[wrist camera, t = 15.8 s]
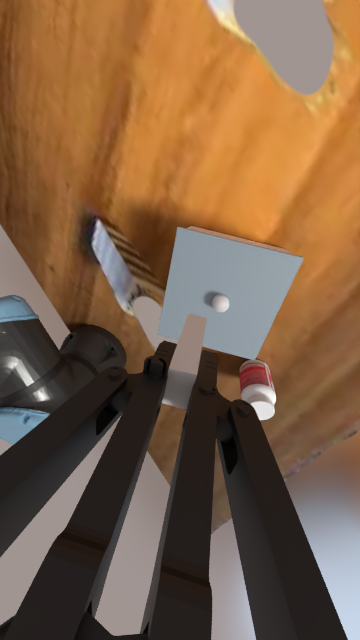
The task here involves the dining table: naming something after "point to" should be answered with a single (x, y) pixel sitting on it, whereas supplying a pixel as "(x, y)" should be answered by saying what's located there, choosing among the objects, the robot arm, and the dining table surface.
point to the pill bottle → (258, 388)
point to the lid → (226, 290)
